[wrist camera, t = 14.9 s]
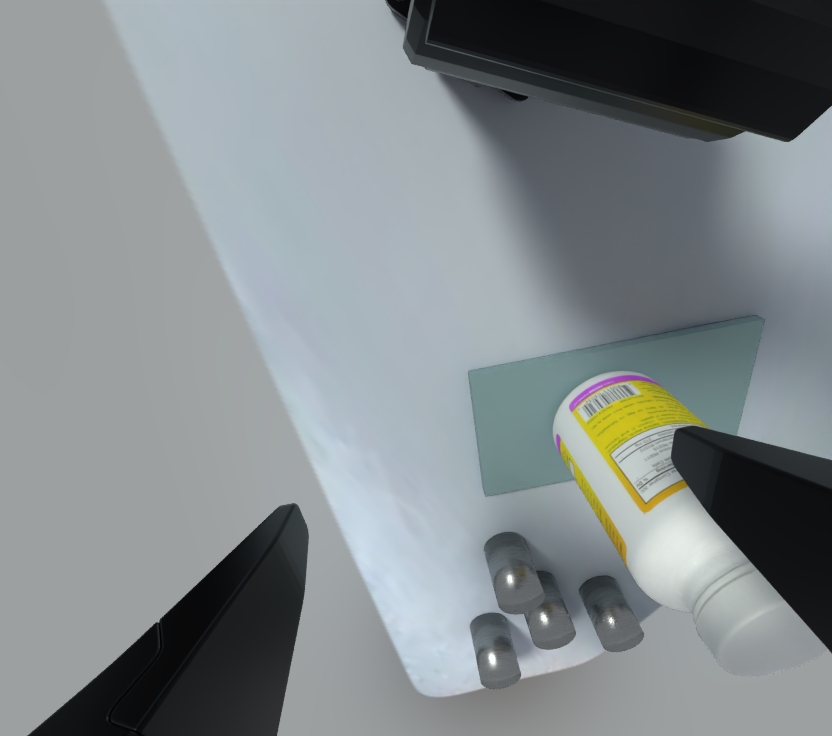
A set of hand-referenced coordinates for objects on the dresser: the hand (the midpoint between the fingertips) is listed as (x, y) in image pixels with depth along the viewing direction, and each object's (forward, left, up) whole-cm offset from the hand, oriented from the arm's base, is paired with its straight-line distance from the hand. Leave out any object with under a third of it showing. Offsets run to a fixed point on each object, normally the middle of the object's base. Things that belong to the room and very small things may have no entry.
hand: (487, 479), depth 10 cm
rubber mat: (+1, +13, -13) cm, 19 cm away
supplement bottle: (+1, +13, -13) cm, 18 cm away
